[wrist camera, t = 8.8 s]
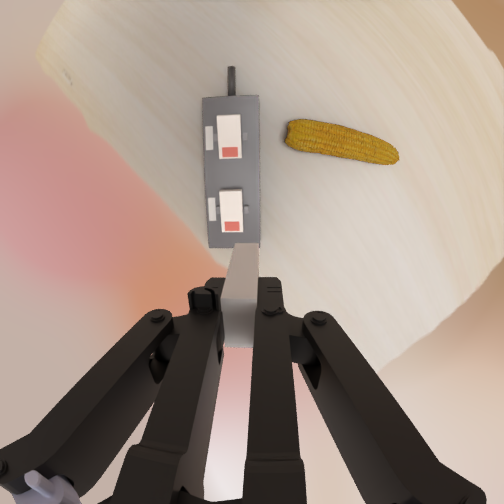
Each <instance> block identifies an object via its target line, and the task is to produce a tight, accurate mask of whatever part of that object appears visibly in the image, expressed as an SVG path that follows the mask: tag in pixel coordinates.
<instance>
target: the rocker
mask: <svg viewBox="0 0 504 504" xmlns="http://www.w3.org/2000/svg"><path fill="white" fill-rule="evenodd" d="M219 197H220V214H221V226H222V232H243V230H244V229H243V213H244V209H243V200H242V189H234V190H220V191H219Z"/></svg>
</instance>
